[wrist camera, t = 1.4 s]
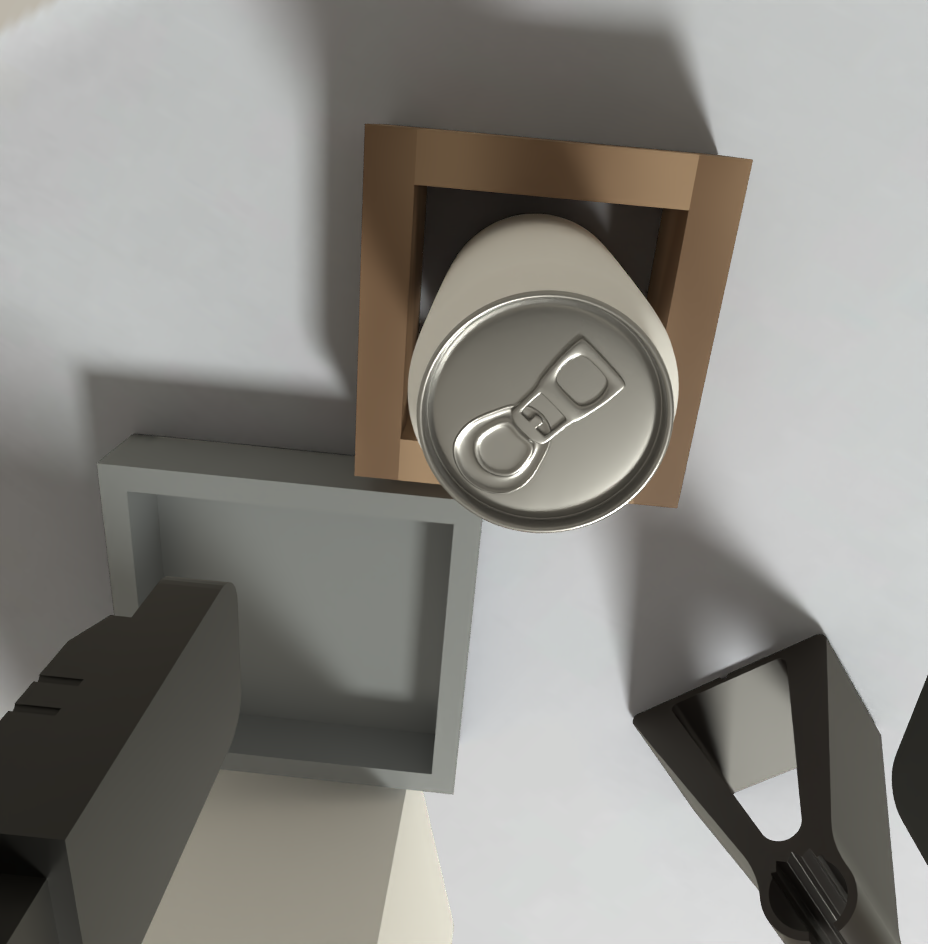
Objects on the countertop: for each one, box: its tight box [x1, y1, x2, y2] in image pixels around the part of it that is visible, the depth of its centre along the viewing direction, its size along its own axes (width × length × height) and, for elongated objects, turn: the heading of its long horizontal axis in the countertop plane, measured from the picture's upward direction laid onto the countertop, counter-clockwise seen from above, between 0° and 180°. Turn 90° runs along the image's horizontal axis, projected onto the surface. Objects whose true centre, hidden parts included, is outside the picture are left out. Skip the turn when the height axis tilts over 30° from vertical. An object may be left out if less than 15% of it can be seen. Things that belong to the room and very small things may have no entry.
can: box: [408, 214, 679, 533], centre depth 23 cm, size 6×6×12 cm
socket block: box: [354, 124, 753, 508], centre depth 26 cm, size 11×11×4 cm
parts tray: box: [97, 434, 482, 794], centre depth 32 cm, size 14×14×3 cm
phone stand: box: [633, 634, 901, 944], centre depth 30 cm, size 9×6×12 cm, turn 123°
